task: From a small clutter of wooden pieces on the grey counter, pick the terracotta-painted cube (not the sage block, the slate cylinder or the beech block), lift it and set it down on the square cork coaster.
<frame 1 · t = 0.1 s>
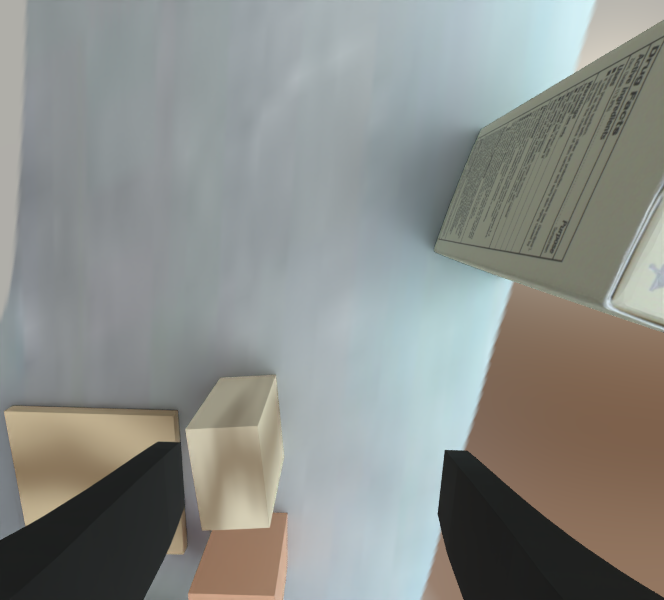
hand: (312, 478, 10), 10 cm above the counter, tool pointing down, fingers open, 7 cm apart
cork coaster: (104, 479, 22), on the counter
skincare box: (495, 202, 19), on the counter
beech block: (212, 446, 19), point 2 cm above the counter, tilted 90°
terracotta cube: (254, 539, 23), on the counter
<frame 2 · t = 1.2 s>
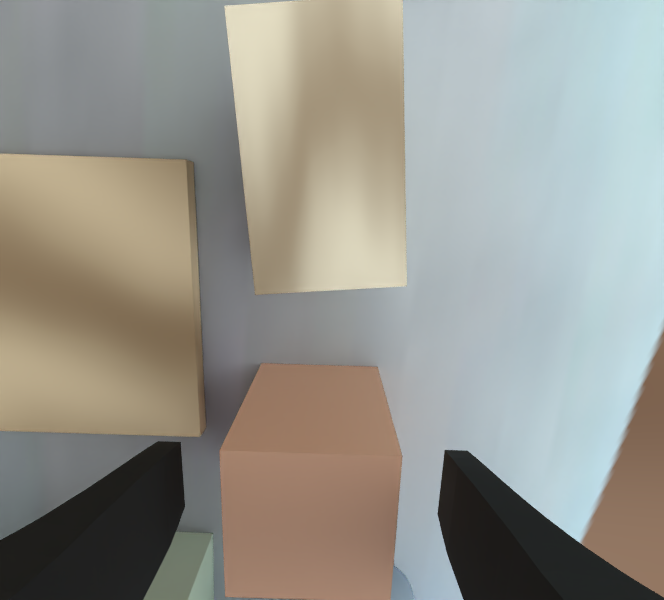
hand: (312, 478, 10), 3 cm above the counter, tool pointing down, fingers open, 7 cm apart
cork coaster: (64, 301, 13), on the counter
beech block: (264, 174, 9), point 2 cm above the counter, tilted 90°
sage block: (139, 568, 15), on the counter
terracotta cube: (318, 416, 14), on the counter
slate cylinder: (363, 598, 15), on the counter
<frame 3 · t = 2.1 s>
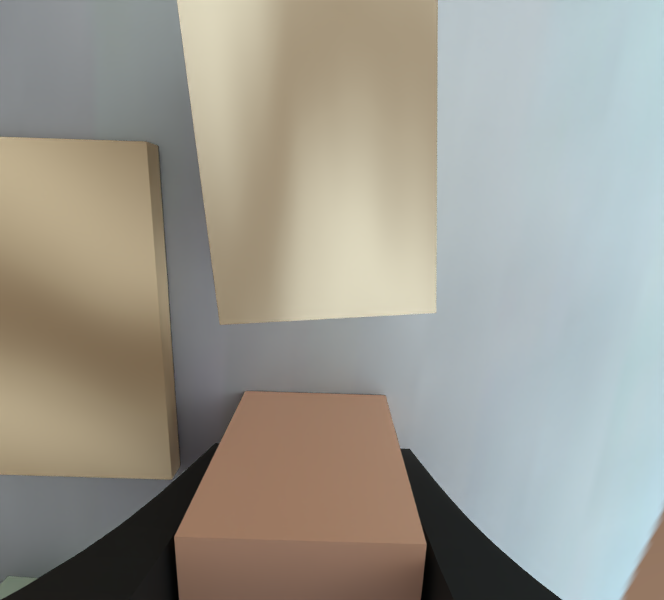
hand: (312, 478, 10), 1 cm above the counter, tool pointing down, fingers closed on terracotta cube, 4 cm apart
cork coaster: (4, 316, 10), on the counter
beech block: (241, 157, 7), point 2 cm above the counter, tilted 90°
terracotta cube: (313, 454, 11), on the counter, touching gripper
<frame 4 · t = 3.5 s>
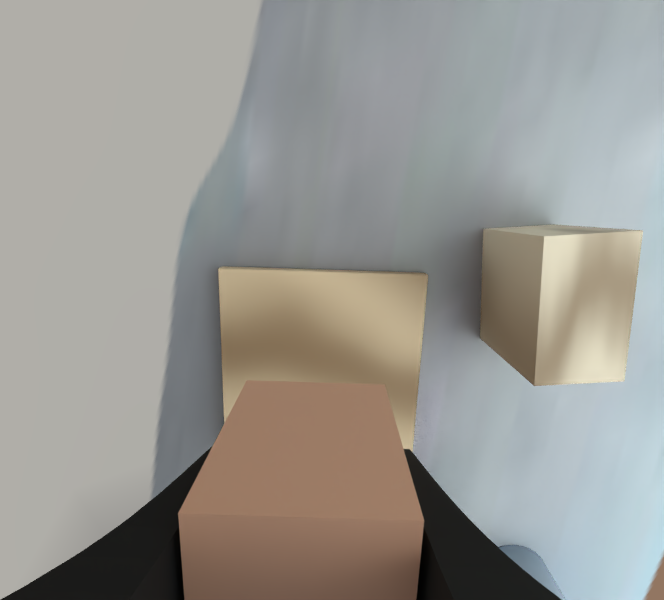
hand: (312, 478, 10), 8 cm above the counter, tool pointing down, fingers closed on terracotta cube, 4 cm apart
cork coaster: (321, 364, 18), on the counter
beech block: (505, 297, 15), point 2 cm above the counter, tilted 90°
terracotta cube: (314, 443, 12), point 7 cm above the counter, touching gripper
slate cylinder: (508, 575, 21), on the counter
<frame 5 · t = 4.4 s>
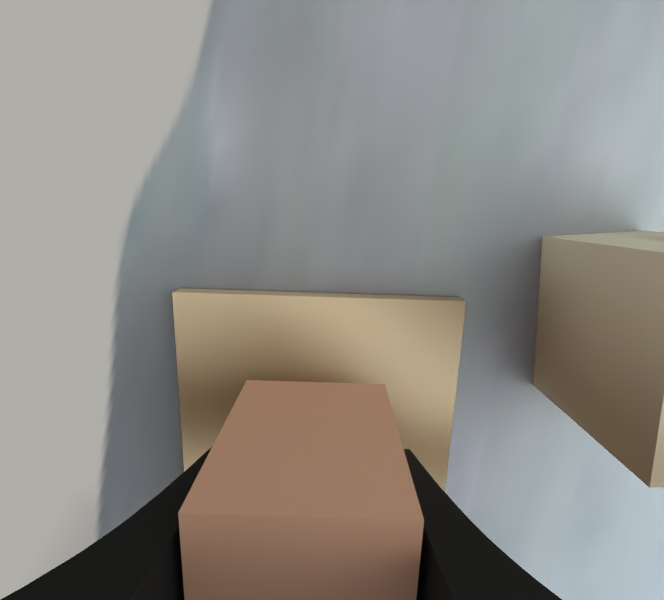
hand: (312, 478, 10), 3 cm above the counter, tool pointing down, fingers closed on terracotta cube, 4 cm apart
cork coaster: (317, 418, 13), on the counter
beech block: (585, 338, 10), point 2 cm above the counter, tilted 90°
terracotta cube: (314, 443, 12), point 2 cm above the counter, touching gripper
when the fingers open (3 cm above the counter, at t = 4.8 s): terracotta cube drops 1 cm, resting on cork coaster.
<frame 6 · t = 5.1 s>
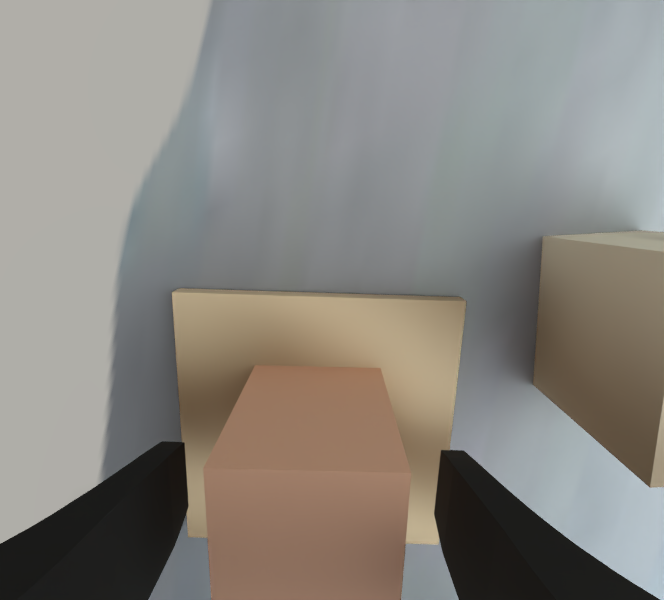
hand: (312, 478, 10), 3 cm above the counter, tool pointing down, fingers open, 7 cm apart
cork coaster: (316, 419, 13), on the counter
beech block: (586, 338, 10), point 2 cm above the counter, tilted 90°
terracotta cube: (316, 422, 13), point 1 cm above the counter, touching cork coaster
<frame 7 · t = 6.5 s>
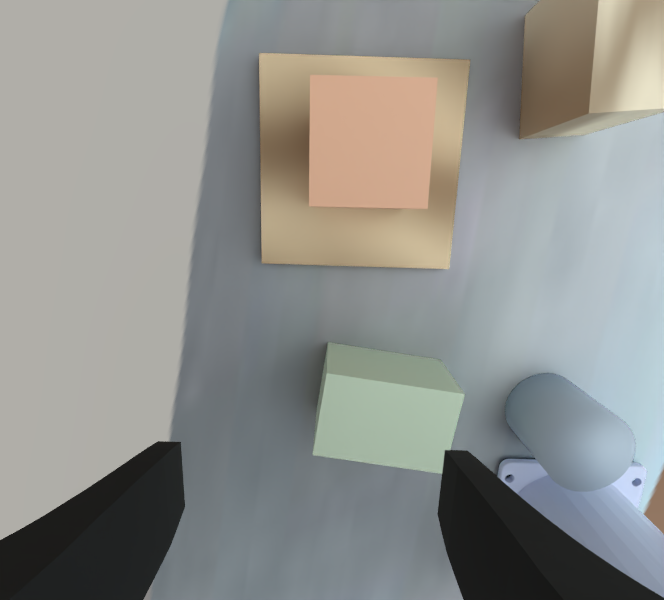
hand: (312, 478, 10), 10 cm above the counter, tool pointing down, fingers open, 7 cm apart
cork coaster: (359, 168, 18), on the counter
beech block: (552, 58, 15), point 2 cm above the counter, tilted 90°
sage block: (377, 384, 21), on the counter
terracotta cube: (360, 162, 17), point 1 cm above the counter, touching cork coaster
slate cylinder: (541, 407, 21), on the counter
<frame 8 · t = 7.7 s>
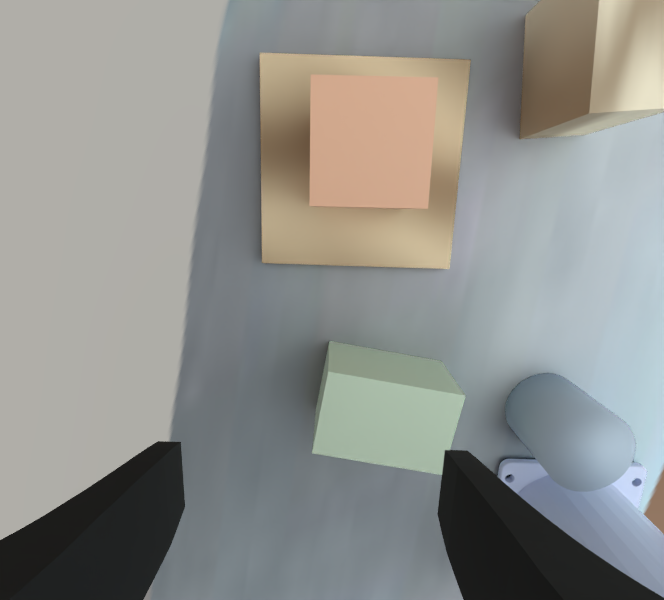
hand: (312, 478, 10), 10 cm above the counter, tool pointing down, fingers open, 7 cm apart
cork coaster: (359, 168, 18), on the counter
beech block: (553, 58, 15), point 2 cm above the counter, tilted 90°
sage block: (377, 384, 21), on the counter
terracotta cube: (360, 162, 17), point 1 cm above the counter, touching cork coaster
slate cylinder: (541, 407, 21), on the counter
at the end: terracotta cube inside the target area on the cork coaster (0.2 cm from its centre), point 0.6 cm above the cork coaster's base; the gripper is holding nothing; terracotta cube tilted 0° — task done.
